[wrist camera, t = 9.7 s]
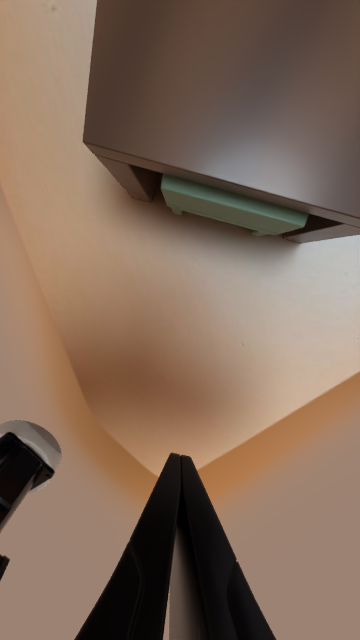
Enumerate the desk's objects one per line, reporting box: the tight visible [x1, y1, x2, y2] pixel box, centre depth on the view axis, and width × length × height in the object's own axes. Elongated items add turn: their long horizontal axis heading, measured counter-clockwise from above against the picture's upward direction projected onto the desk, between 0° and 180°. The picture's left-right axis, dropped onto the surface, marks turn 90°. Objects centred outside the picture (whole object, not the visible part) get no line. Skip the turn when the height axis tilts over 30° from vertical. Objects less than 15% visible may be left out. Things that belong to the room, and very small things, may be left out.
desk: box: [83, 0, 360, 243], centre depth 10 cm, size 13×14×8 cm
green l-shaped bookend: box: [161, 173, 309, 237], centre depth 12 cm, size 7×7×6 cm
